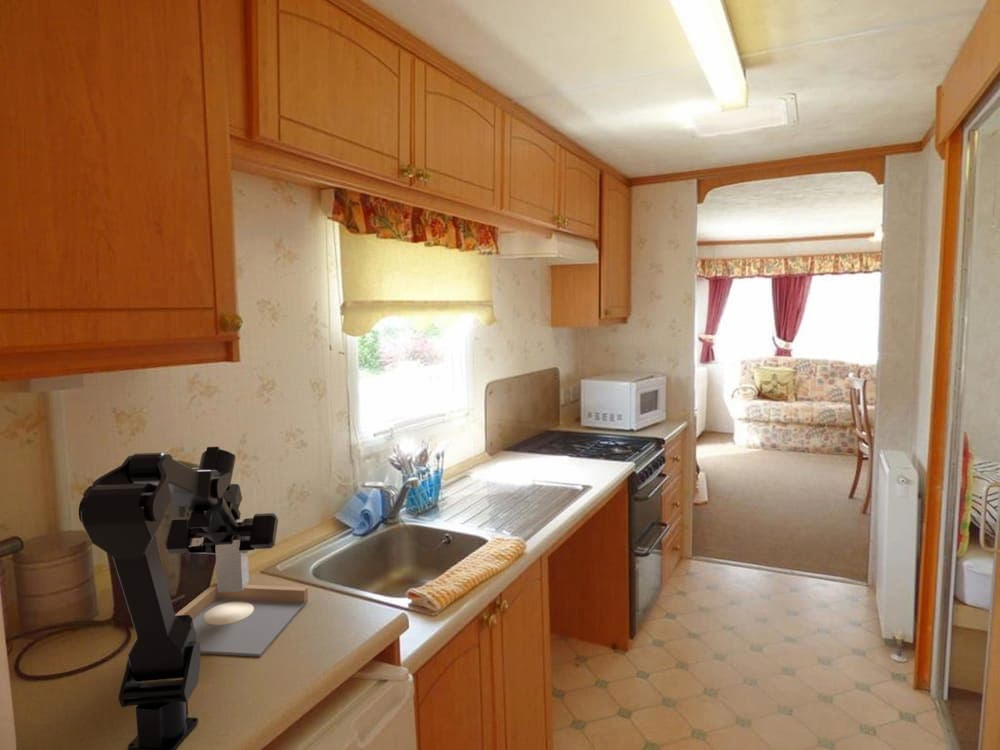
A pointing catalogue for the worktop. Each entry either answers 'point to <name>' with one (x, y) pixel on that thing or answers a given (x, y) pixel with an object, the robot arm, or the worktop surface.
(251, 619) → the corner arena
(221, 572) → the aluminium post
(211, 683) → the worktop surface
